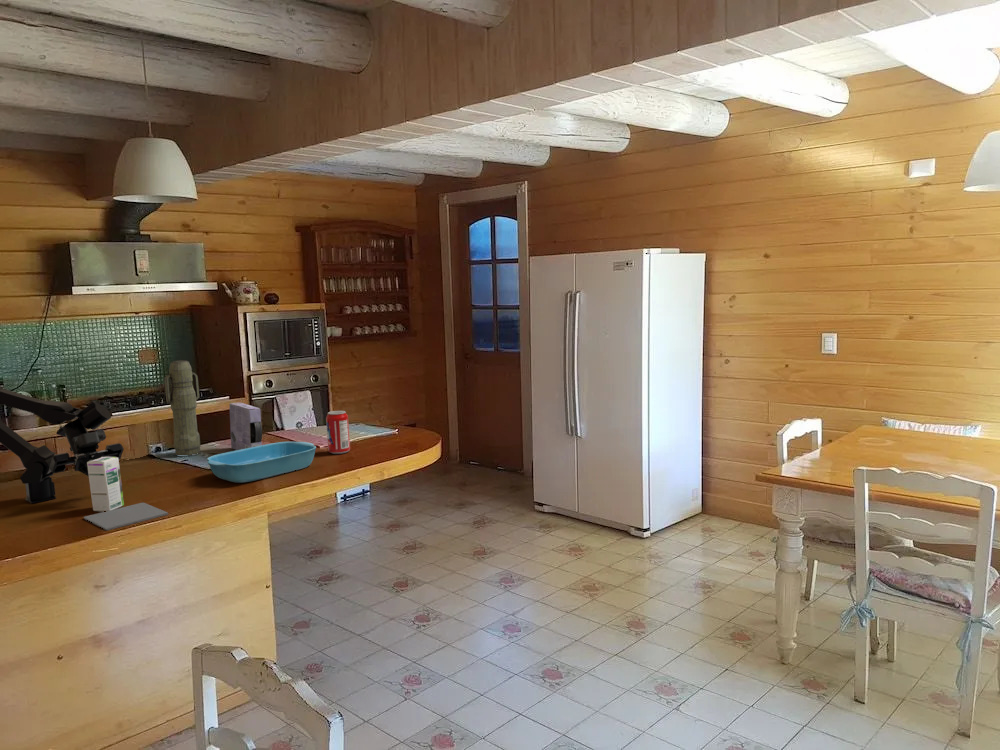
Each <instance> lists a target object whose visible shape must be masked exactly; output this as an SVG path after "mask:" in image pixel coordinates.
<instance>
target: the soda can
mask: <svg viewBox="0 0 1000 750" xmlns="http://www.w3.org/2000/svg"><path fill="white" fill-rule="evenodd" d="M325 421H326V423H325V424H326V437H327V451H328V452H329V453H331V454H332V455H341V454H347V453H348V452H350V450H351V439H350V425H349V423H350V422H349V415H348V414H347V411H345V410H332V411H329V412H327V415H326V417H325Z"/></svg>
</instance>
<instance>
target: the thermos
mask: <svg viewBox="0 0 1000 750" xmlns="http://www.w3.org/2000/svg"><path fill="white" fill-rule="evenodd" d="M168 369H169V370H168V374H166V375H165V377H164V380H163V381H164V391H165V399H166V403H167V404H170V409H171V411H172V418H173V419H172V420H173V430H174V435H173V446H174V447H173V448H174V450H175V455H176V454H177V455H192V454H197V453H200V452H201V436H200V433H199V430H198V422H197V421H198V419H197V410H196V409H197V401H198V400H199V399H200V397H201V396H200V387H199V377H198V374H197V373H196V372H193V371H192V370H193V368H192V366H191V364H190V361H189V360H186V359H185V360H184V359H182V360H181V359H180V360H173V361H172V362H170V365H169V368H168ZM200 454H201V453H200Z"/></svg>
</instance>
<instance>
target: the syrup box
mask: <svg viewBox="0 0 1000 750" xmlns="http://www.w3.org/2000/svg"><path fill="white" fill-rule="evenodd" d="M119 461H120V460H119V459H118V457H101V458H99V459H95V460H92V461H89V462H87V466H88V474H89V477H88V482H89V490H90V495H91V497H90V498H91V503H92V504H91V505H92V510H93V512H104V511H110V510H114V509H118V508H122V507H125V502H124V492H123V484H122V477H121V468H120V462H119Z"/></svg>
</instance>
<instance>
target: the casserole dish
mask: <svg viewBox="0 0 1000 750" xmlns="http://www.w3.org/2000/svg"><path fill="white" fill-rule="evenodd" d="M316 449H317V446H316V445H314V443H312V442H307V441H279V442H274V443H266V444H262V445H261V446H256V447H251V448H246V449H241V450H231V451H227V452H222V453H217V454H214V455H212V456H209V457H207V459H206V460H207V465H209V467H210V470H211V471H212V473H213V475H215V476H216V477H217V478H219V479H221V480H224V481H228V482H231V483H238V484H240V483H241V484H242V483H248V482H249V483H250V482H254V481H259V480H263V479H267V478H271V477H272V478H273V477H276V476H279V475H284V473H285V474H287V473H292V472H295V470H296V471H299V470H303V469H306V468H308V467H309V466H310V465H311V464H312V462H313V461H314V458H315V453H316Z"/></svg>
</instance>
